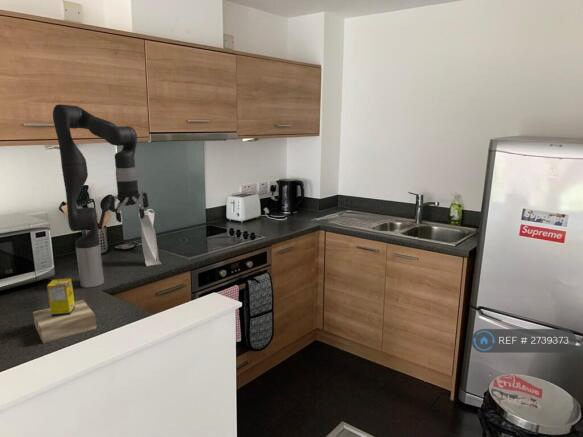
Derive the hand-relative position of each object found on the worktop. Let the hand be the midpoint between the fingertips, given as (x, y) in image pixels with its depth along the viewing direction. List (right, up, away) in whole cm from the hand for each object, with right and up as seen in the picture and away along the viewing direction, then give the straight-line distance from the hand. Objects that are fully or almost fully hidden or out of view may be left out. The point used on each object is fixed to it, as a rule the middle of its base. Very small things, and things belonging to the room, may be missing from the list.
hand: (130, 220), depth 171 cm
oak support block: (-14, -36, -23) cm, 45 cm away
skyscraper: (-5, -22, +42) cm, 48 cm away
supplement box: (-14, -31, -23) cm, 42 cm away
